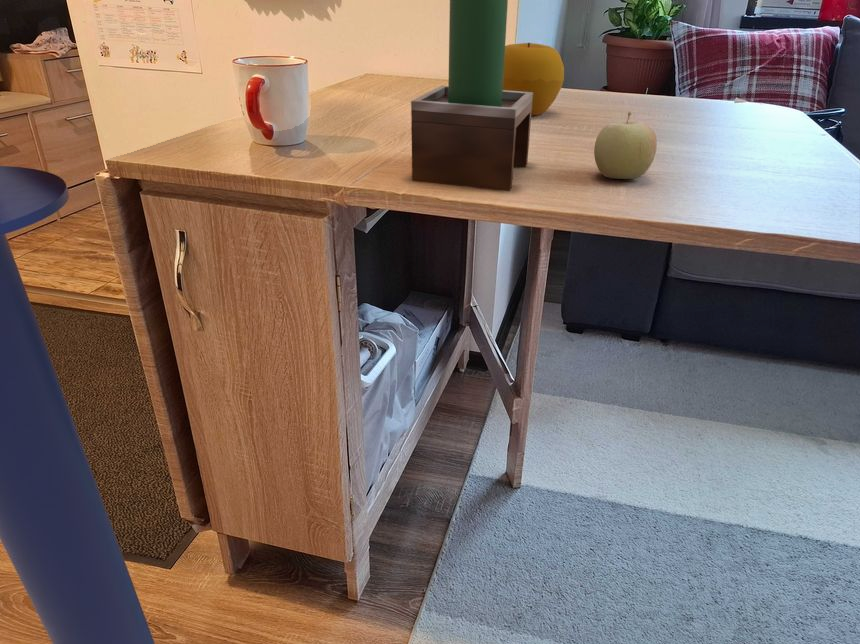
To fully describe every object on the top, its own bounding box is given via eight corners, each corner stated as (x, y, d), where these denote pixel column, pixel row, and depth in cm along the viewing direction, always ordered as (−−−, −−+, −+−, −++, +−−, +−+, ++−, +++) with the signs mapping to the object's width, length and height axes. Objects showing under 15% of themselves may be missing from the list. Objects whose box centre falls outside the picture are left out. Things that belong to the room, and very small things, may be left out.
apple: (485, 117, 109) (488, 44, 103) (492, 103, 120) (496, 37, 114) (560, 121, 108) (567, 48, 102) (560, 107, 119) (567, 40, 113)
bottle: (437, 104, 75) (438, -74, 66) (472, 98, 79) (478, -70, 70) (477, 112, 71) (484, -75, 62) (512, 106, 76) (524, -70, 66)
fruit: (646, 189, 75) (659, 119, 71) (585, 181, 78) (594, 112, 74) (654, 173, 82) (666, 108, 77) (597, 166, 84) (606, 102, 80)
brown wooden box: (411, 180, 76) (410, 100, 71) (440, 156, 86) (440, 85, 81) (510, 190, 73) (515, 109, 69) (527, 164, 83) (533, 92, 79)
